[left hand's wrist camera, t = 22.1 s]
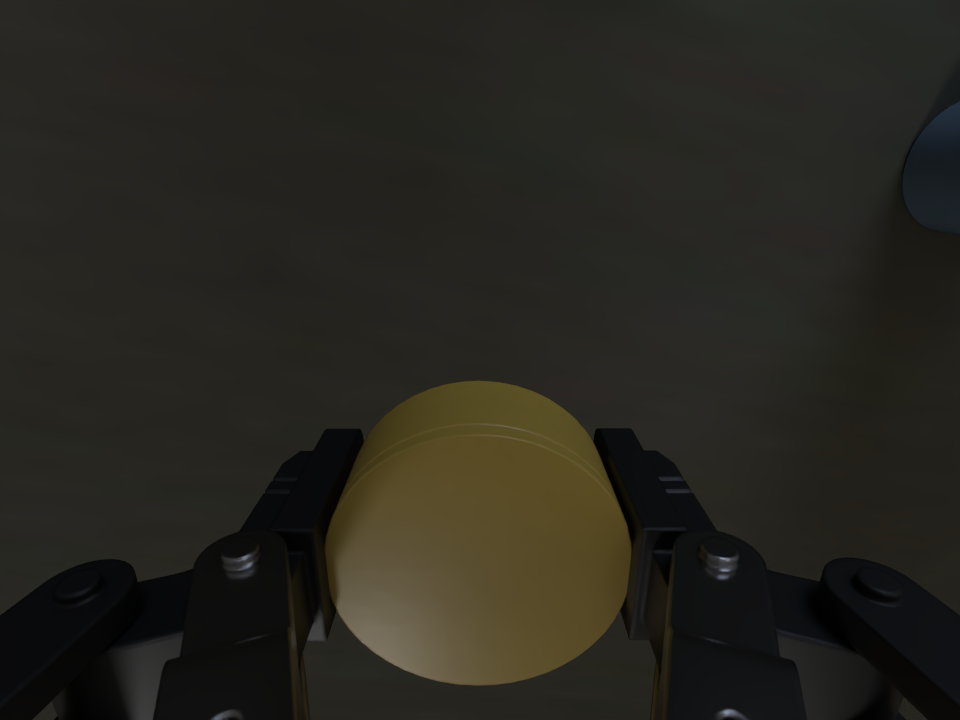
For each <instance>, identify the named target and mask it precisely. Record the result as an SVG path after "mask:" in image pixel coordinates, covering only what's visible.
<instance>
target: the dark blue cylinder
mask: <svg viewBox="0 0 960 720" xmlns="http://www.w3.org/2000/svg"><path fill="white" fill-rule="evenodd" d="M902 191H903V197H904V201H905V204H906V206H907V209H908V211H909V212H910V214H911V215H912V216H913V218H914V219H915V220H916V221H917V222H918V223H920V224H921V225H922V226H924V227H926V228H928V229H930V230H932V231H935V232H940V233H946V234H952V235H958V236H960V101H959V102H957V103H955V104H953V105H952V106H950V107H949V108H947V109H946V110H944V111H943V112H941V113H940V114H939V115H938V116H936V117H935V118H934V119H933V120H932V121H931V122H930V123H929V124H928V125H927V126H926V127H925V129H924V130H923V131H922V132H921V134H920V135H919V137H918V138H917V140H916V141H915V143H914V145H913V146H912V148H911V150H910V152H909V155H908V157H907V160H906V163H905V167H904V171H903V177H902Z"/></svg>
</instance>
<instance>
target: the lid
mask: <svg viewBox="0 0 960 720" xmlns="http://www.w3.org/2000/svg"><path fill="white" fill-rule="evenodd" d="M631 551H632V541H631V537H630V533H629V530H628V526H627V523H626V520H625V518H624V515H623V513H622V511H621V508H620V505H619V503H618V500H617V498H616V496H615V493H614V491H613V488H612V486H611V483H610V481H609V478H608V476H607V473H606V471H605V468H604V466H603V463H602V461H601V458H600V456H599V454H598V451H597V449H596V447H595V445H594V443H593V441H592V440H591V438H590V437H589V435H588V434H587V432H586V431H585V430H584V428H583V427H582V426H581V425H580V424H579V423H578V421H577V420H576V419H575V418H574V417H572V416H571V415H570V414H569V413H568V412H567V411H566V410H564V409H563V408H562V407H560V406H559V405H557V404H556V403H554V402H553V401H551V400H550V399H548V398H546V397H544V396H542V395H540V394H537V393H535V392H533V391H530V390H527V389H524V388H521V387H519V386H515V385H510V384H505V383H500V382H489V381H467V382H458V383H452V384H446V385H442V386H439V387H436V388H432V389H429V390H426V391H424V392H422V393H420V394H417V395H415V396H413V397H411V398H409V399H408V400H406V401H404V402H403V403H401V404H399V405H398V406H397V407H395V408H394V409H393V410H392V411H390V412H389V413H388V414H387V415H385V416H384V417H383V418H382V419H381V421H380V422H379V423H378V424H377V425H376V426H375V427H374V428H373V430H372V431H371V432H370V434H369V435H368V437H367V438H366V439H365V441H364V443H363V445H362V447H361V449H360V451H359V453H358V456H357V458H356V460H355V463H354V465H353V468H352V470H351V472H350V475H349V477H348V480H347V482H346V484H345V487H344V489H343V492H342V494H341V497H340V499H339V501H338V504H337V507H336V509H335V511H334V513H333V516H332V518H331V521H330V524H329V527H328V530H327V534H326V538H325V555H326V564H327V572H328V581H329V589H330V596H331V599H332V602H333V604H334V606H335V608H336V610H337V612H338V614H339V615H340V617H341V618H342V620H343V621H344V623H345V624H346V625H347V627H348V628H349V630H350V631H351V632H352V633H353V634H354V635H355V636H356V637H357V638H358V639H359V640H360V641H361V642H362V643H363V644H364V645H365V646H367V647H368V648H369V649H370V650H371V651H373V652H374V653H375V654H377V655H378V656H380V657H381V658H383V659H384V660H386V661H388V662H389V663H391V664H393V665H395V666H397V667H399V668H401V669H403V670H405V671H408V672H410V673H413V674H416V675H418V676H421V677H425V678H428V679H432V680H436V681H440V682H446V683H452V684H461V685H496V684H504V683H512V682H516V681H521V680H525V679H529V678H532V677H535V676H538V675H541V674H544V673H547V672H549V671H551V670H553V669H556V668H558V667H560V666H562V665H564V664H566V663H567V662H569V661H571V660H572V659H574V658H576V657H577V656H579V655H580V654H581V653H583V652H584V651H585V650H586V649H588V648H589V647H590V646H592V645H593V644H594V643H595V642H596V641H597V640H598V639H599V638H600V637H601V636H602V635H603V634H604V633H605V631H606V630H607V629H608V627H609V626H610V625H611V624H612V622H613V621H614V619H615V618H616V616H617V614H618V613H619V611H620V609H621V607H622V605H623V603H624V600H625V598H626V594H627V587H628V578H629V570H630V561H631Z"/></svg>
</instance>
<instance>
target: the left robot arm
mask: <svg viewBox="0 0 960 720" xmlns="http://www.w3.org/2000/svg"><path fill="white" fill-rule="evenodd" d="M363 443H364V440H363V434H362V431H361V429H326V430H325V431H324V433H323V434H322V436H321V438H320V440H319V441H318V443H317V445H316V447H315V448H314V450H313V451H300V452H299V453H297V454H296V455H294V456H293V457H292V458H290V459H289V460H287V461H286V462H285V463H283V464H282V466H281V467H280V469H279V470H278V472H277V473H276V475H275V477H274V478H273V481H271V483H270V484H269V486H268V487H267V489H266V491H265V494H263V495H262V497H261V498H260V500H259V501H258V503H257V505H256V506H255V508H254V509H253V511H252V512H251V514H250V515H249V517H248V519H247V520H246V522H245V523H244V525H243V526H242V528H241V529H240V531H239V532H237V533H233V534H230V535H228V536H225V537H223V538H221V539H219V540H217V541H216V542H214V543H212V544H211V545H210V546H208V547H207V548H206V549H205V550H204V551H203V552H202V553H201V554H200V555H199V556H198V558H197V560H196V561H195V564H194V567H193V569H191V570H188V571H185V572H182V573H178V574H174V575H169V576H164V577H160V578H155V579H151V580H146V581H141V582H138V581H137V578H136V574H135V571H134V568H133V567H132V566H131V565H130V564H129V563H127V562H125V561H121V560H115V559H105V560H97V561H92V562H88V563H84V564H81V565H78V566H75V567H73V568H70V569H68V570H66V571H64V572H61V573H59V574H58V575H56V576H54V577H52V578H51V579H49V580H48V581H46V582H45V583H43V584H42V585H41V586H39V587H38V588H36V589H35V590H34V591H32V592H31V593H30V594H28V595H27V596H26V597H24V598H23V599H22V600H20V601H19V602H18V603H16V604H15V605H14V606H12V607H11V608H10V609H8V610H7V611H6V612H4V613H3V614H2V615H0V720H32V719H33V718H34V717H35V716H36V715H37V714H39V713H40V712H41V711H42V710H43V709H44V708H45V707H46V706H47V705H48V704H49V703H50V702H51V701H52V703H53V705H54V708H55V711H56V713H57V717H56V718H55V719H54V720H310V715H309V704H308V694H307V683H306V673H305V665H304V659H303V650H304V647H305V644H306V642H307V641H327V639H328V636H329V632H330V629H331V626H332V623H333V620H334V617H335V613H336V608H335V606H334V604H333V602H332V599H331V596H330V589H329V581H328V572H327V564H326V555H325V538H326V534H327V530H328V527H329V524H330V521H331V518H332V516H333V513H334V511H335V509H336V507H337V504H338V501H339V499H340V497H341V494H342V492H343V489H344V487H345V484H346V482H347V480H348V477H349V475H350V472H351V470H352V468H353V465H354V463H355V460H356V458H357V456H358V453H359V451H360V449H361V447H362V445H363ZM593 443H594V445H595V447H596V449H597V451H598V454H599V456H600V458H601V461H602V463H603V466H604V468H605V471H606V473H607V476H608V478H609V481H610V483H611V486H612V488H613V491H614V493H615V496H616V498H617V500H618V503H619V505H620V508H621V511H622V513H623V515H624V518H625V520H626V523H627V526H628V530H629V533H630V537H631V541H632V551H631V561H630V570H629V578H628V587H627V594H626V598H625V600H624V603H623V605H622V607H621V609H620V611H621V614H622V617H623V621H624V624H625V627H626V630H627V634H628V637H629V640H650V643H651V646H652V649H653V652H654V655H655V657H656V665H655V673H654V683H653V694H652V704H651V715H650V720H906V719H905V718H904V717H903V716H902V715H901V714H900V713H899V712H898V711H899V708H900V705H901V702H902V700H903V697H905V698H906V699H907V700H908V701H909V702H910V703H911V704H912V705H913V706H914V707H915V708H916V709H917V710H918V711H919V712H920V713H921V714H923V715H924V716H925V717H926V718H927V719H928V720H960V615H958V614H957V613H956V612H954V611H953V610H952V609H950V608H949V607H948V606H946V605H945V604H944V603H942V602H941V601H940V600H938V599H937V598H936V597H934V596H933V595H932V594H930V593H929V592H928V591H926V590H925V589H923V588H922V587H921V586H919V585H918V584H917V583H915V582H914V581H913V580H911V579H910V578H908V577H907V576H905V575H903V574H901V573H900V572H898V571H896V570H894V569H891V568H889V567H887V566H884V565H882V564H879V563H876V562H872V561H869V560H864V559H858V558H838V559H835V560H832V561H830V562H828V563H827V564H826V565H825V567H824V569H823V572H822V576H821V580H820V582H819V581H814V580H809V579H805V578H800V577H796V576H791V575H787V574H782V573H778V572H774V571H770V570H767V567H766V564H765V561H764V560H763V558H762V556H761V555H760V554H759V553H758V552H757V551H756V550H755V549H754V548H753V547H752V546H750V545H749V544H748V543H746V542H744V541H743V540H741V539H739V538H737V537H735V536H732V535H730V534H727V533H723V532H720V531H717V530H716V528H715V527H714V525H713V524H712V522H711V521H710V519H709V517H708V516H707V514H706V513H705V511H704V510H703V508H702V506H701V505H700V503H699V502H698V500H697V499H696V497H695V495H694V494H693V493H691V489H690V488H689V486H688V484H687V483H686V481H684V480H683V476H682V475H681V473H680V472H679V470H678V469H677V467H676V465H675V464H674V463H673V462H672V461H670V460H669V459H667V458H666V457H665V456H663V455H662V454H660V453H659V452H658V451H644V450H643V448H642V446H641V445H640V443H639V441H638V439H637V438H636V436H635V434H634V432H633V431H632V429H630V428H597V429H596V431H595V434H594V442H593Z"/></svg>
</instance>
